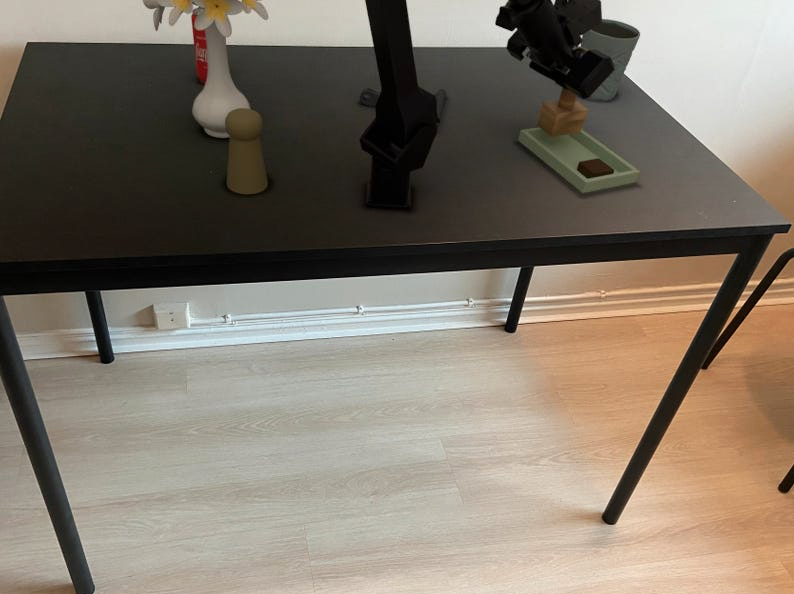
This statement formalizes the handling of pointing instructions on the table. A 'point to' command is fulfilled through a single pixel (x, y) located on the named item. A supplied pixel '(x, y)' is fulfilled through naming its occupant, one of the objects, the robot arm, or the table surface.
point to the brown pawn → (245, 152)
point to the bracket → (374, 94)
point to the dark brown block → (594, 168)
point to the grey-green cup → (612, 51)
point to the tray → (578, 158)
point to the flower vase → (212, 56)
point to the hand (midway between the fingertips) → (576, 89)
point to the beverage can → (200, 49)
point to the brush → (563, 114)
